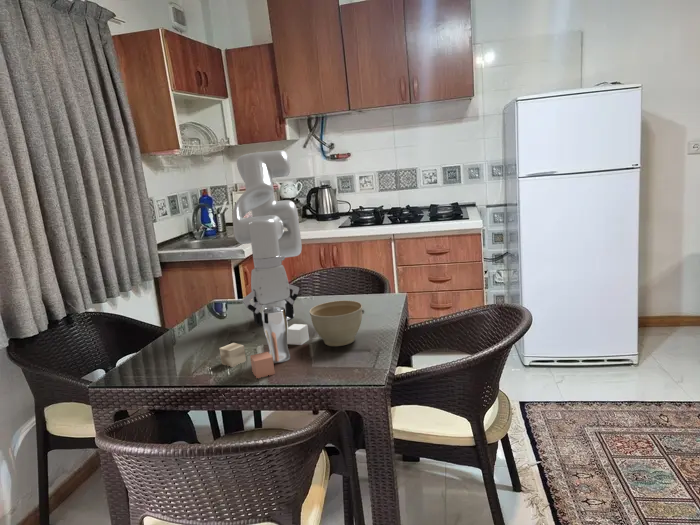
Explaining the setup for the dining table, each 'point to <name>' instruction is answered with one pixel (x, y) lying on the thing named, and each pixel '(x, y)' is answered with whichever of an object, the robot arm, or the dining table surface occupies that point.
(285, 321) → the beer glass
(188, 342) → the dining table surface
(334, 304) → the planter bowl
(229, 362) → the beech block
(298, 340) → the cream block
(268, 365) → the rust block
